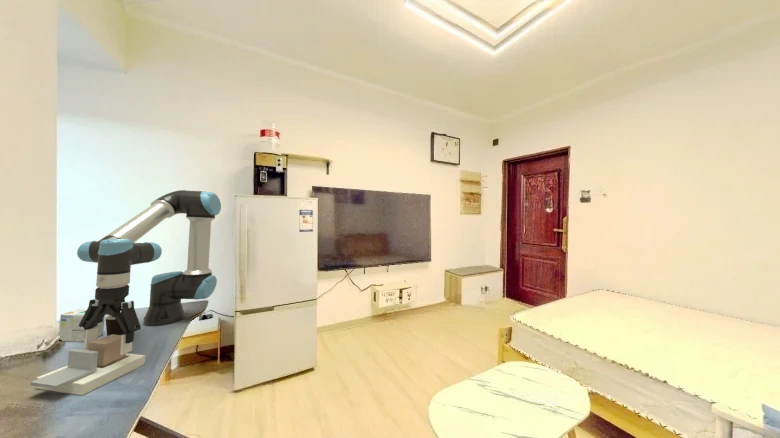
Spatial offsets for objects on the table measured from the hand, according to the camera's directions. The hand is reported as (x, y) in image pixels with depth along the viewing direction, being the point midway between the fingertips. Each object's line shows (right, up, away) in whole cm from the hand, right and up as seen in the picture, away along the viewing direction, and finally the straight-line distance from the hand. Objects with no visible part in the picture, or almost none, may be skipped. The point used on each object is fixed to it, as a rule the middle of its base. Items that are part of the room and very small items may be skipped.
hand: (108, 350), depth 82 cm
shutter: (-1, -3, -10) cm, 10 cm away
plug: (0, -6, 0) cm, 6 cm away
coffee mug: (-17, -6, +21) cm, 28 cm away
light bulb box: (-33, -6, +20) cm, 39 cm away
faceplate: (-1, -6, -3) cm, 7 cm away
